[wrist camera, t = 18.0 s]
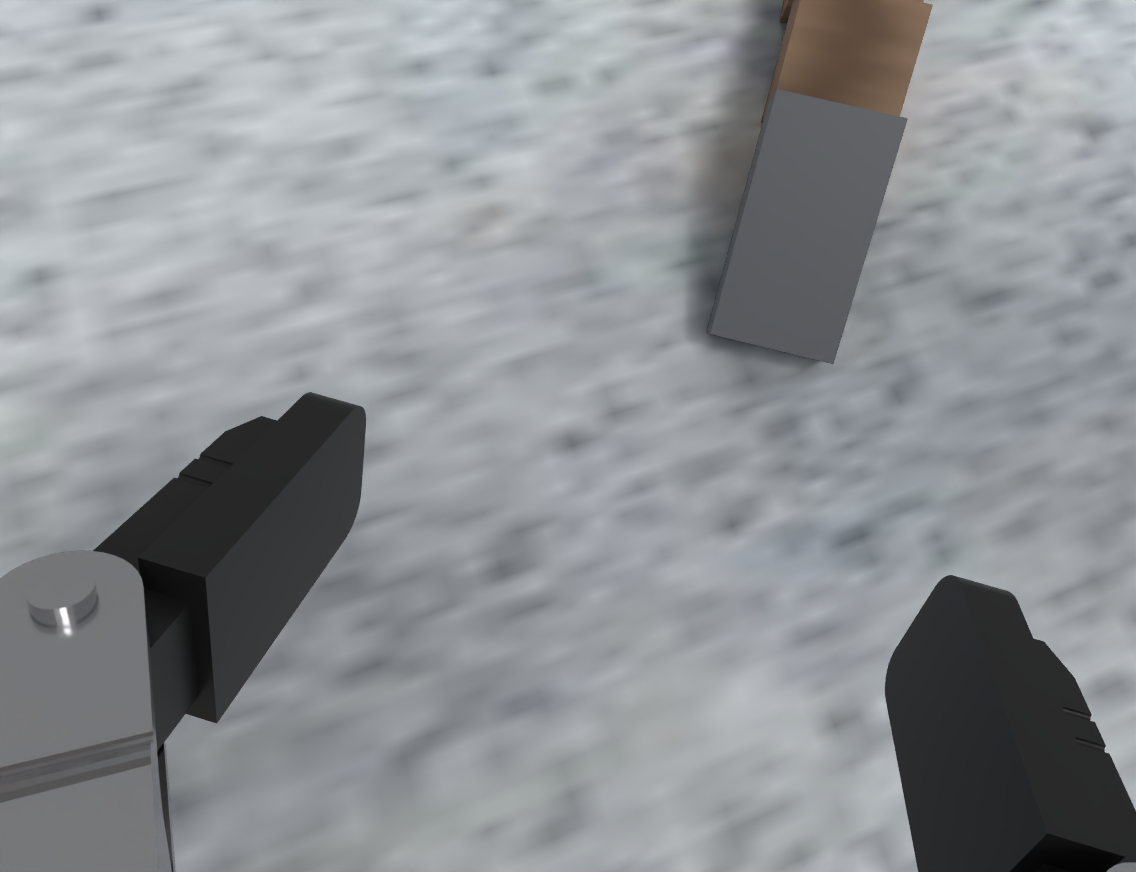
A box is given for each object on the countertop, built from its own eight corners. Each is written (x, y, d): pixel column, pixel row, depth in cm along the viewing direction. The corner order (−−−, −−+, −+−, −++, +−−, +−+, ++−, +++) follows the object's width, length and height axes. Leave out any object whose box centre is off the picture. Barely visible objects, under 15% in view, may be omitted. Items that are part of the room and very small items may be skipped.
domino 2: (821, 360, 33) (890, 130, 31) (833, 364, 31) (907, 118, 29) (706, 332, 33) (768, 102, 31) (710, 333, 31) (776, 88, 30)
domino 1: (847, 251, 34) (915, 22, 32) (859, 248, 32) (932, 4, 30) (735, 225, 34) (796, -3, 33) (741, 220, 32) (806, -23, 31)
